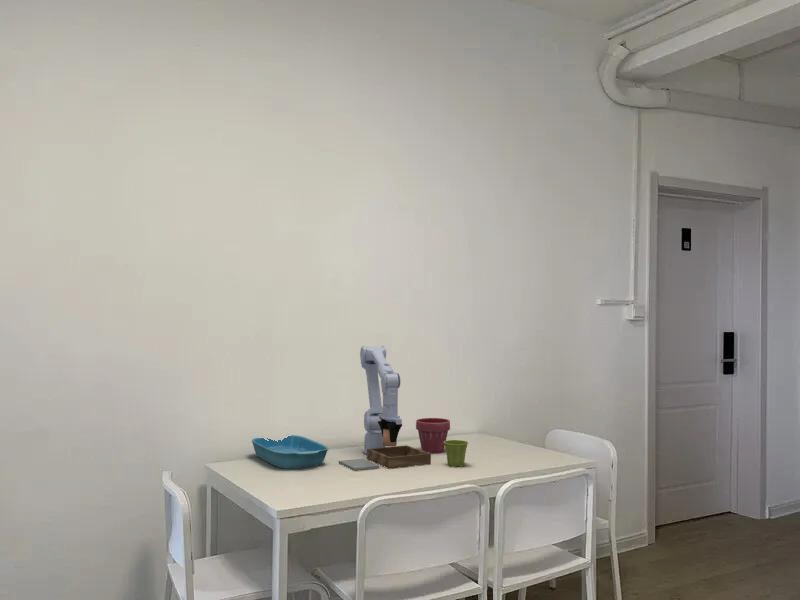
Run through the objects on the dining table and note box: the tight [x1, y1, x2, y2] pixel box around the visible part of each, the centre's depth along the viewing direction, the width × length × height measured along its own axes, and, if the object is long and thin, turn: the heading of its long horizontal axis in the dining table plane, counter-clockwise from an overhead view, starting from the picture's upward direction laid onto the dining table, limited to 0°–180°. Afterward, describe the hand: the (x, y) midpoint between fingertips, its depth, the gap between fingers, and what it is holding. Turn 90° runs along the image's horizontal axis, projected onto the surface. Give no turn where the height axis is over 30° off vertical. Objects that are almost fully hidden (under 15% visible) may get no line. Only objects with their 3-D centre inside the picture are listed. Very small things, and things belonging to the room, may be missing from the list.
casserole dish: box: [251, 434, 329, 470], centre depth 278 cm, size 37×22×7 cm, turn 33°
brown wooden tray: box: [366, 445, 432, 469], centre depth 279 cm, size 18×18×4 cm
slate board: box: [338, 458, 380, 472], centre depth 270 cm, size 14×10×1 cm
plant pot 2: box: [444, 439, 469, 467], centre depth 275 cm, size 9×9×9 cm
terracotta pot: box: [383, 428, 398, 447], centre depth 277 cm, size 5×5×6 cm
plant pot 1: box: [415, 417, 451, 454], centre depth 300 cm, size 14×14×13 cm
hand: (389, 440), depth 277 cm, fingers closed on terracotta pot, 5 cm apart
